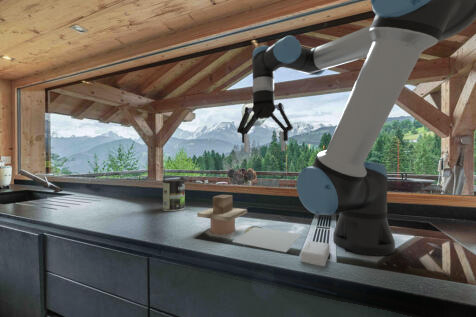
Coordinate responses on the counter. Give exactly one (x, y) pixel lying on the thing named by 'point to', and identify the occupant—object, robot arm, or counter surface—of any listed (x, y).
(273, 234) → the mat
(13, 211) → the counter surface
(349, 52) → the robot arm
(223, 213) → the lid
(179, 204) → the coffee can
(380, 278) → the counter surface
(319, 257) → the soap
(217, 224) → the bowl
